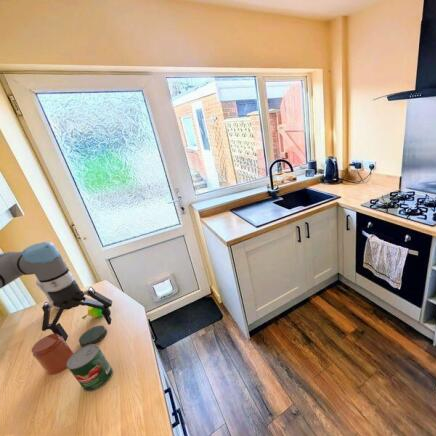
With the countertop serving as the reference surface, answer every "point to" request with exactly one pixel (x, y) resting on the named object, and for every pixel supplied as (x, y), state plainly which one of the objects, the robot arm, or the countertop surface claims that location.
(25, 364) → the countertop surface
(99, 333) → the jar lid
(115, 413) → the countertop surface
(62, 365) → the jam jar
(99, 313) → the apple
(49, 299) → the plastic bottle
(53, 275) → the robot arm
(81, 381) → the canned tomato
